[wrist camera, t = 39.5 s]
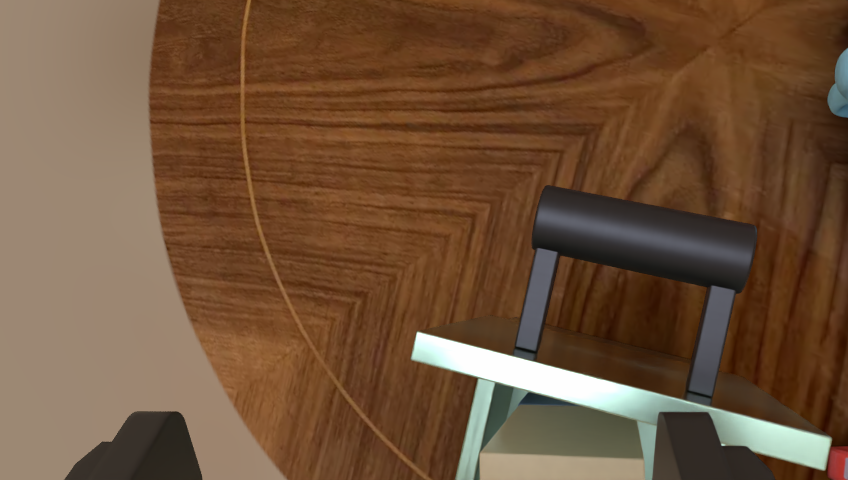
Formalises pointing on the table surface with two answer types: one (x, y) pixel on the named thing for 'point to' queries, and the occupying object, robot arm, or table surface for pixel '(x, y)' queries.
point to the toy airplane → (838, 463)
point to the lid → (621, 367)
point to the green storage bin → (502, 401)
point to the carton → (563, 444)
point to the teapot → (840, 88)
